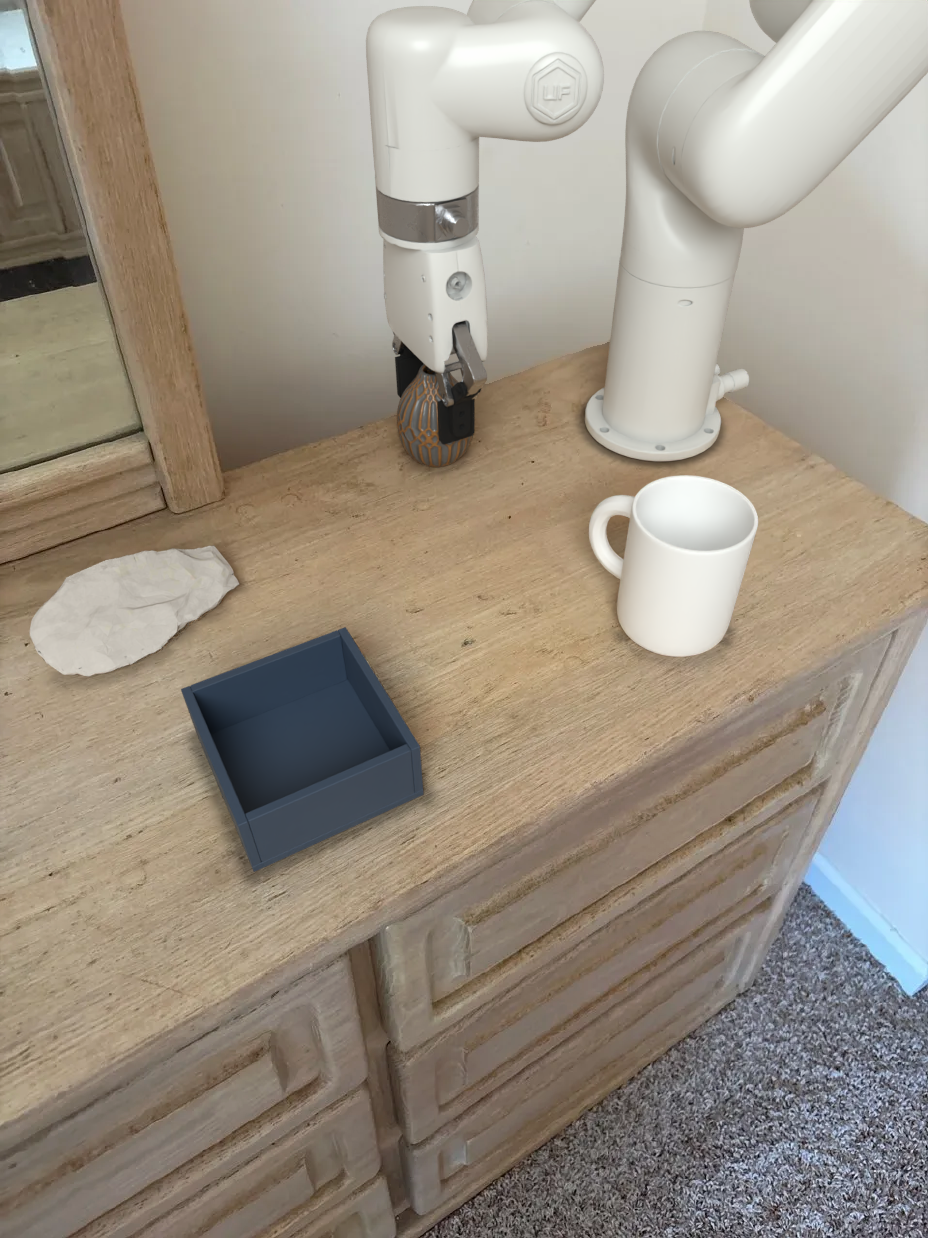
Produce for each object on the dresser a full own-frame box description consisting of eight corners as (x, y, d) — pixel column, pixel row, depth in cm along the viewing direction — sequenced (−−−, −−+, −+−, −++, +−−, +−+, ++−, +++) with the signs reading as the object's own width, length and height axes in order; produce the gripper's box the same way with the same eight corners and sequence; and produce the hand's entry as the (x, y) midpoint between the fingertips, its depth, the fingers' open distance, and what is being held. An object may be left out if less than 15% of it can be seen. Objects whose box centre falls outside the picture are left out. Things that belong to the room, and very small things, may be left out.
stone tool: (70, 711, 64) (257, 616, 70) (61, 694, 61) (257, 596, 67) (16, 616, 66) (202, 532, 72) (5, 596, 63) (199, 510, 69)
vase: (415, 485, 79) (410, 397, 73) (388, 443, 84) (381, 358, 77) (487, 465, 81) (488, 378, 75) (456, 426, 86) (455, 341, 79)
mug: (553, 601, 69) (562, 493, 62) (615, 547, 73) (631, 440, 66) (689, 679, 63) (717, 571, 56) (748, 616, 68) (781, 507, 60)
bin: (353, 676, 64) (345, 626, 60) (423, 795, 57) (420, 746, 53) (198, 738, 60) (180, 688, 56) (253, 872, 53) (237, 826, 49)
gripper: (532, 242, 63) (522, 454, 75) (421, 163, 73) (428, 360, 86) (436, 265, 60) (442, 480, 73) (335, 180, 71) (356, 380, 84)
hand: (434, 414), depth 79 cm, fingers open, 7 cm apart
